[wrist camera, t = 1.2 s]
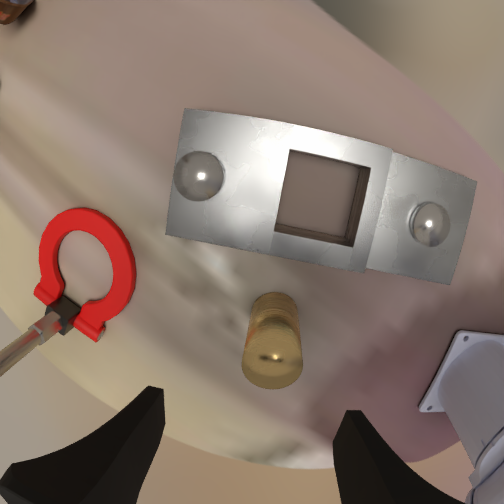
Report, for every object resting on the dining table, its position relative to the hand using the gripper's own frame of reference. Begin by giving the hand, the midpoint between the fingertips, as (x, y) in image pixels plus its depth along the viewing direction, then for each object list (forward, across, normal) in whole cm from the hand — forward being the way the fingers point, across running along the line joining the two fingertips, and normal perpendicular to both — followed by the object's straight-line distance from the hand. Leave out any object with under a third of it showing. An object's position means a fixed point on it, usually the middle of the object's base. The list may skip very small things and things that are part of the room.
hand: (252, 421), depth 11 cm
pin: (+10, -1, 0) cm, 10 cm away
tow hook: (+11, +13, -1) cm, 17 cm away
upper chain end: (+10, 0, -8) cm, 13 cm away
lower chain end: (+10, -6, -8) cm, 14 cm away
